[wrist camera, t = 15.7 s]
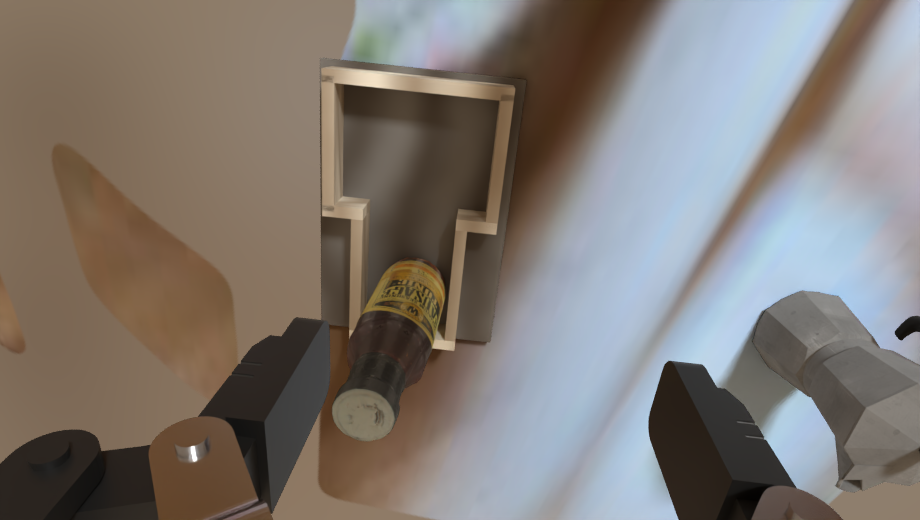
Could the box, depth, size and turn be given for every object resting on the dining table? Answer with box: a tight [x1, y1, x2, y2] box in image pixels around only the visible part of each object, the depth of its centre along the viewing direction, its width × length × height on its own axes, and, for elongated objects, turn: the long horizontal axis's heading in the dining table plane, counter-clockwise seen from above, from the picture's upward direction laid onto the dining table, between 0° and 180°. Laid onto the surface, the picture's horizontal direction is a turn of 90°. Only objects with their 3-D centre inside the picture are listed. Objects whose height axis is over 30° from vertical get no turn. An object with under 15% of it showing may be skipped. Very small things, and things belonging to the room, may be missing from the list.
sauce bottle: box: [332, 257, 445, 441], centre depth 42 cm, size 6×6×20 cm
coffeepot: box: [752, 291, 920, 492], centre depth 43 cm, size 15×9×18 cm, turn 149°
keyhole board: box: [320, 58, 527, 351], centre depth 47 cm, size 17×25×4 cm
